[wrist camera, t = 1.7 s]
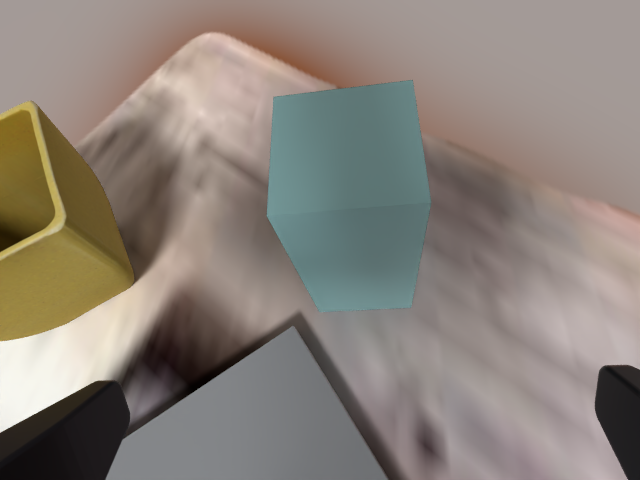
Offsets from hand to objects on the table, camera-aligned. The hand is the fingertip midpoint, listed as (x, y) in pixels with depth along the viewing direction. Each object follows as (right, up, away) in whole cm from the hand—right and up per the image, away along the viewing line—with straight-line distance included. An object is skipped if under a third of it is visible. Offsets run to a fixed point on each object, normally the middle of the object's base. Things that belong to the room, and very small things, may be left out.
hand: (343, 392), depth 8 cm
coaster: (-4, -9, +11) cm, 15 cm away
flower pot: (-15, +1, +18) cm, 24 cm away
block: (+2, +1, +16) cm, 16 cm away
